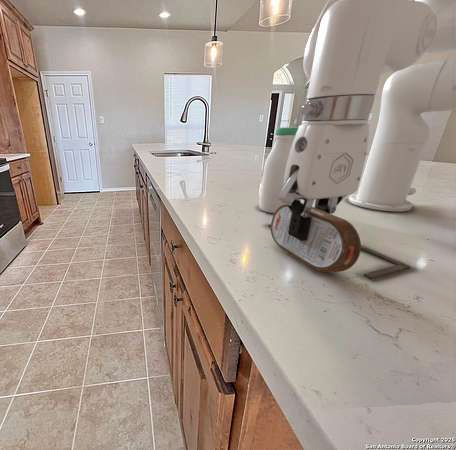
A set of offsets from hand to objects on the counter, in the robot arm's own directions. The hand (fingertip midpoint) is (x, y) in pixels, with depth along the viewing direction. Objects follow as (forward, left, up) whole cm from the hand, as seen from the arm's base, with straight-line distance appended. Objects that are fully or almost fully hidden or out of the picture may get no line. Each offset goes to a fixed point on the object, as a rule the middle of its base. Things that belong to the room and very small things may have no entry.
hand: (306, 234), depth 40 cm
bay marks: (-8, -2, -4) cm, 9 cm away
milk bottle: (-13, -21, -4) cm, 25 cm away
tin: (+1, 0, -4) cm, 4 cm away
